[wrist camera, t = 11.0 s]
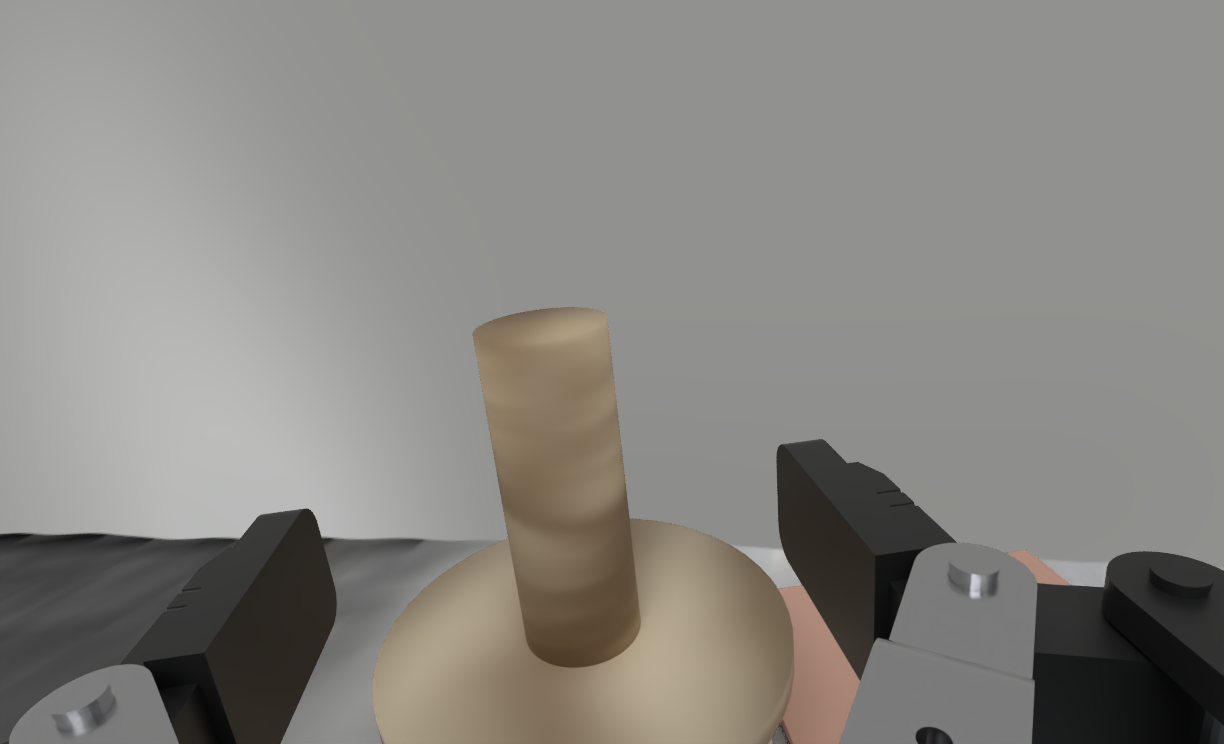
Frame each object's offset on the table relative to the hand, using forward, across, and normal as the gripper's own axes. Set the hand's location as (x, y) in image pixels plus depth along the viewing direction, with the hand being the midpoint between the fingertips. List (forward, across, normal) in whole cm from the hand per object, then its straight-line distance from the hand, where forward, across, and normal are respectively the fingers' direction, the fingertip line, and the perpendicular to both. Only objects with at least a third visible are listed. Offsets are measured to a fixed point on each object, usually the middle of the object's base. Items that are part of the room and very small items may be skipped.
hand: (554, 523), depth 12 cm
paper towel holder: (+6, 0, +8) cm, 10 cm away
